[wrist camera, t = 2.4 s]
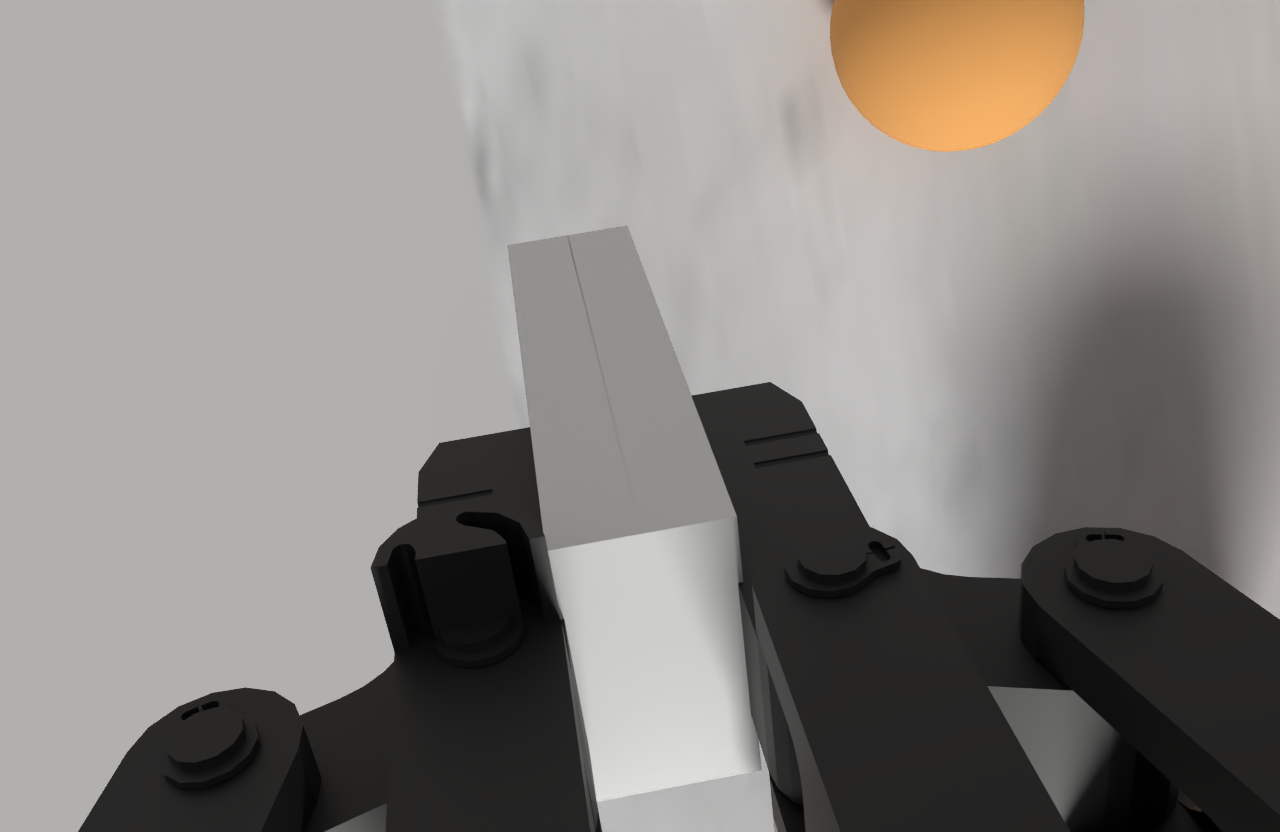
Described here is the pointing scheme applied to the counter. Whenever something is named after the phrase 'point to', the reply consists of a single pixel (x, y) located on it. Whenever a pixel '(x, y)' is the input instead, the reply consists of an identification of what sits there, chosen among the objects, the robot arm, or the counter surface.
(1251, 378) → the counter surface
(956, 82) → the ball
